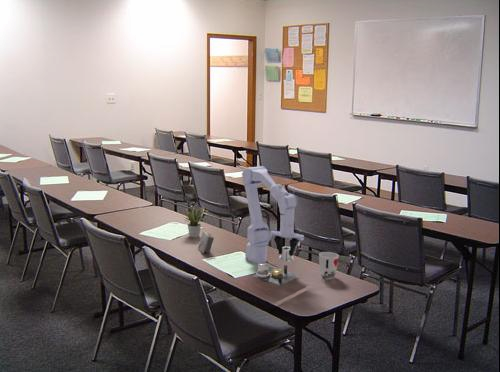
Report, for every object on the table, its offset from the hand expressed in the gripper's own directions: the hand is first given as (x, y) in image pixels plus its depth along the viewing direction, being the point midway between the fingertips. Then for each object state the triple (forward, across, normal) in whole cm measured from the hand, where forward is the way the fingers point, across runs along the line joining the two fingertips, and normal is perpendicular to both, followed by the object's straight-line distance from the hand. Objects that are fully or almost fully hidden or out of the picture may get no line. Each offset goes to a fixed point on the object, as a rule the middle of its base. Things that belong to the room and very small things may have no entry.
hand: (286, 254), depth 221 cm
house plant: (+9, +63, -34) cm, 72 cm away
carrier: (+10, +2, +5) cm, 11 cm away
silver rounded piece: (+8, +7, +7) cm, 13 cm away
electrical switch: (+10, +47, -14) cm, 50 cm away
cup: (+10, -17, -7) cm, 21 cm away
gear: (+2, 0, 0) cm, 2 cm away
